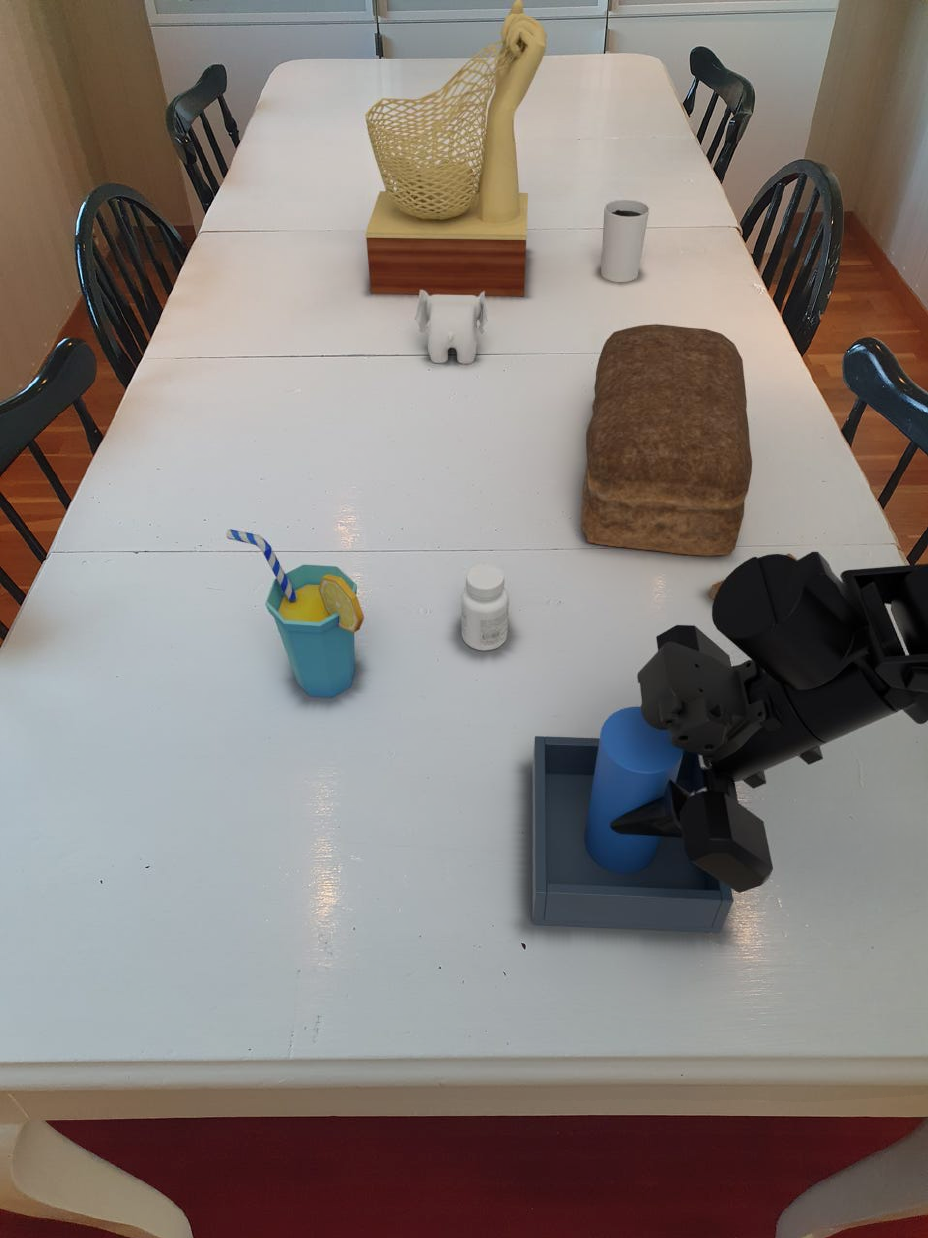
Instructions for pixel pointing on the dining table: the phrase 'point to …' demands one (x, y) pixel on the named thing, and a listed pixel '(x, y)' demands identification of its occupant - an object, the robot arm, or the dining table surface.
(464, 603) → the pill bottle
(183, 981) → the dining table surface
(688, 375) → the bread
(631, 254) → the white cylindrical pot
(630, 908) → the tray
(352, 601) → the cup
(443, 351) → the elephant figurine
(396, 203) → the net sculpture trophy
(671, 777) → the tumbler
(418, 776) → the dining table surface
